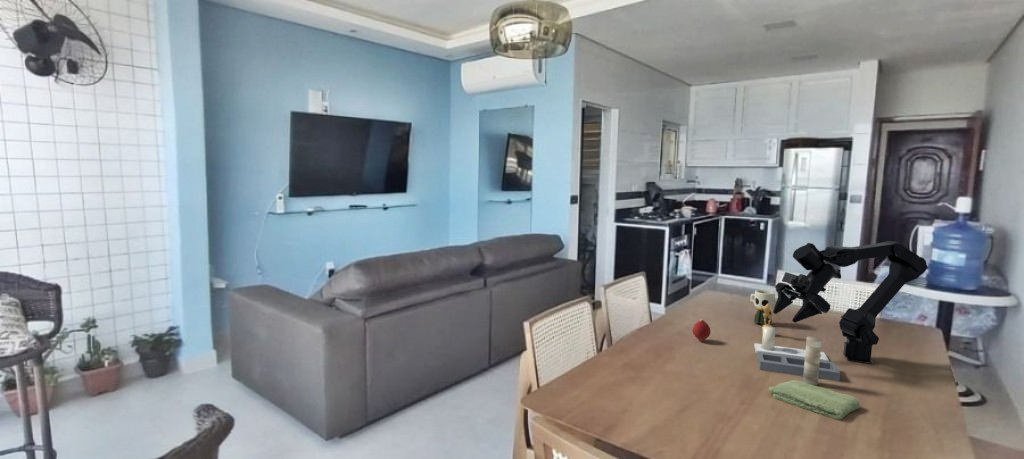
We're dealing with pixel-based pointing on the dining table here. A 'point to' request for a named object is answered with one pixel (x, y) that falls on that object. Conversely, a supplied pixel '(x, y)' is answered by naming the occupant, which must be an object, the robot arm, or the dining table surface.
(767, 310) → the figurine
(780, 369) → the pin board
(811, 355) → the birch peg
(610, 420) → the dining table surface
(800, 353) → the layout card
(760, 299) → the character mug
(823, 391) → the washcloth
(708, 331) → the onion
